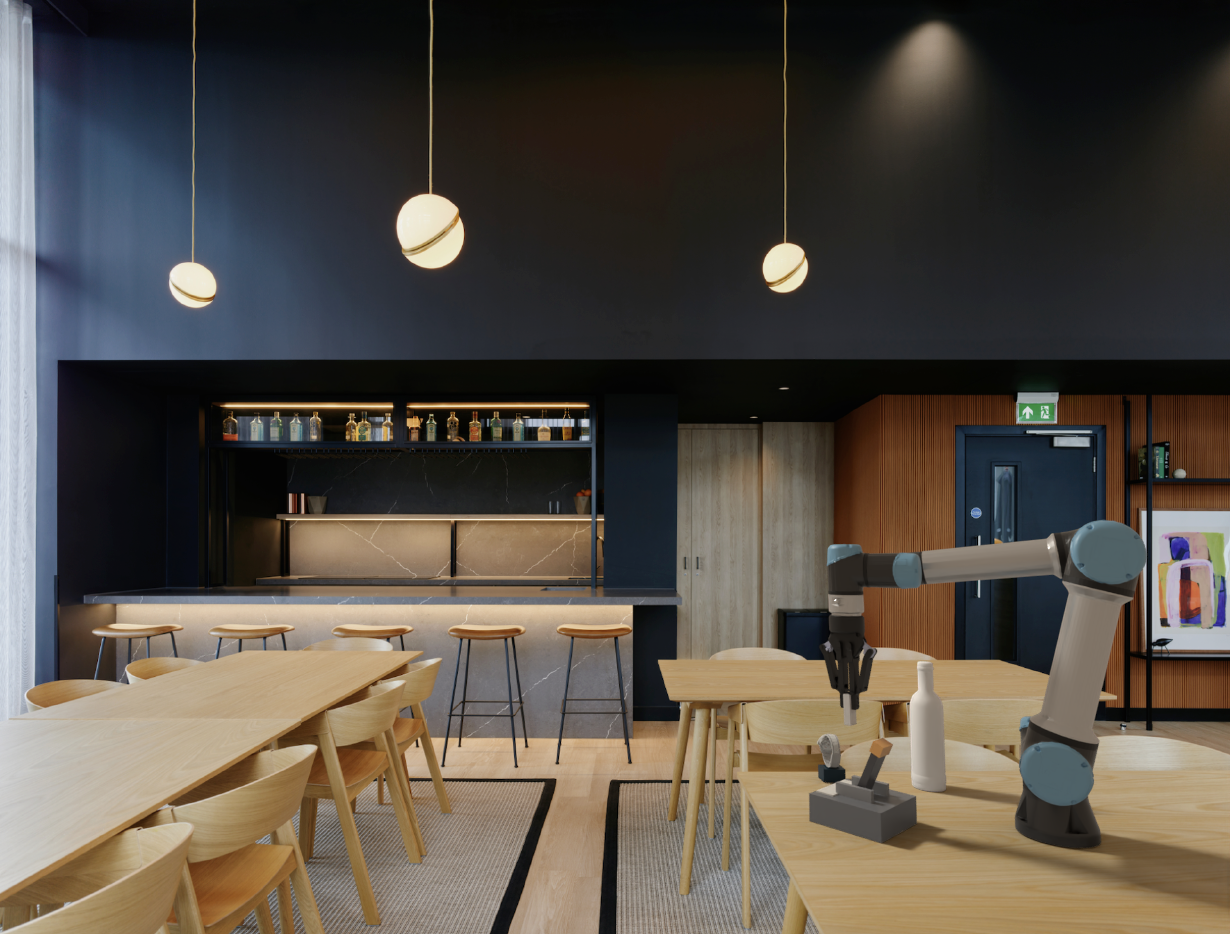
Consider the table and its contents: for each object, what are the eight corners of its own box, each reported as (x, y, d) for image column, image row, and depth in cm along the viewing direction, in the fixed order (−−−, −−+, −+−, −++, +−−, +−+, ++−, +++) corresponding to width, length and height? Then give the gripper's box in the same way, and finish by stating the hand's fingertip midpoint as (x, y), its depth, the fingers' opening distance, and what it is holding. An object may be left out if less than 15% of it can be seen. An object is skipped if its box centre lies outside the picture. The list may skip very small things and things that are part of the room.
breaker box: (916, 823, 156) (915, 784, 157) (881, 843, 145) (880, 800, 146) (847, 804, 167) (846, 767, 168) (809, 820, 156) (809, 781, 157)
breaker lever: (874, 790, 157) (893, 744, 155) (864, 794, 154) (883, 748, 152) (864, 783, 159) (883, 737, 157) (854, 787, 156) (873, 741, 154)
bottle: (912, 790, 178) (909, 663, 182) (909, 780, 186) (906, 659, 189) (948, 793, 176) (944, 665, 179) (944, 784, 183) (940, 660, 187)
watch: (836, 774, 189) (836, 730, 191) (848, 784, 181) (847, 738, 183) (815, 774, 189) (814, 730, 190) (825, 784, 181) (825, 738, 182)
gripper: (811, 613, 165) (814, 722, 162) (865, 616, 156) (870, 732, 153) (828, 611, 170) (832, 717, 167) (882, 614, 161) (887, 726, 158)
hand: (850, 724), depth 160 cm, fingers closed
